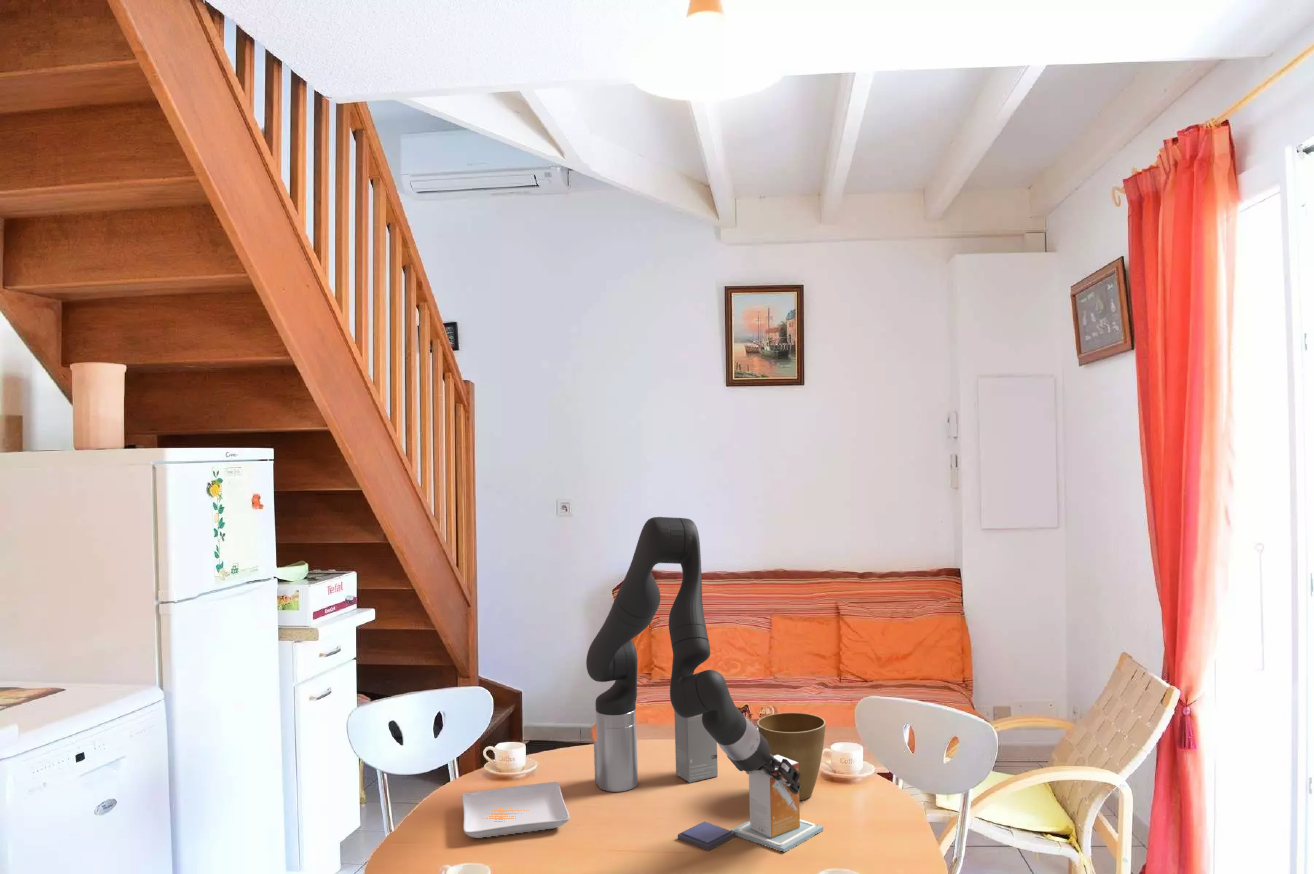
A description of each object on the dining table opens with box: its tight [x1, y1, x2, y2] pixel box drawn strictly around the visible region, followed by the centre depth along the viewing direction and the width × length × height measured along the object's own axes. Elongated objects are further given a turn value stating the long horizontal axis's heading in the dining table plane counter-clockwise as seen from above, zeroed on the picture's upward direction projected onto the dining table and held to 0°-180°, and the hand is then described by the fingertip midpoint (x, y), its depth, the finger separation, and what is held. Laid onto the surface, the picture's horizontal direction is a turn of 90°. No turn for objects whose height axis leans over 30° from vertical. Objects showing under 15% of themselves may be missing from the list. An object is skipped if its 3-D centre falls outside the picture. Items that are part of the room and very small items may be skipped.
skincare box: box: [673, 709, 719, 783], centre depth 211 cm, size 8×7×16 cm
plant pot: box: [756, 712, 827, 801], centre depth 198 cm, size 15×15×16 cm
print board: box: [730, 818, 824, 853], centre depth 179 cm, size 13×13×1 cm
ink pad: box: [677, 821, 736, 851], centre depth 177 cm, size 8×8×1 cm
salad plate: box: [461, 781, 571, 839], centre depth 190 cm, size 21×21×3 cm
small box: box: [748, 755, 801, 838], centre depth 179 cm, size 8×6×13 cm
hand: (779, 784), depth 180 cm, fingers open, 8 cm apart
